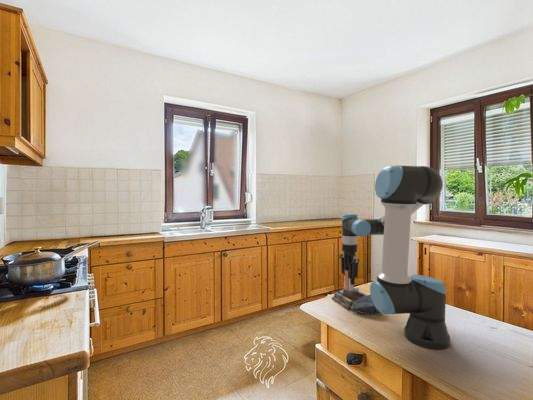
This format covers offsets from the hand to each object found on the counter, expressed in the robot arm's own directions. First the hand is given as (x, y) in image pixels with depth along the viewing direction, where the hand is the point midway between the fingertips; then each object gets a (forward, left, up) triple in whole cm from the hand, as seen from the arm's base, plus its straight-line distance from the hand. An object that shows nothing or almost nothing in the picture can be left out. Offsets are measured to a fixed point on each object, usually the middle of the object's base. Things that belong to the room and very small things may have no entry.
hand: (349, 289), depth 145 cm
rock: (-16, 0, -6) cm, 17 cm away
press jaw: (0, 0, -4) cm, 4 cm away
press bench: (-4, 0, -6) cm, 7 cm away
